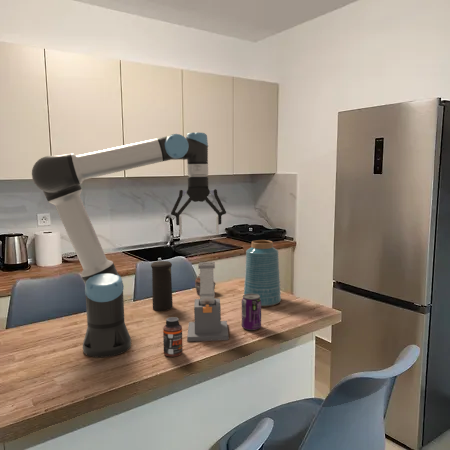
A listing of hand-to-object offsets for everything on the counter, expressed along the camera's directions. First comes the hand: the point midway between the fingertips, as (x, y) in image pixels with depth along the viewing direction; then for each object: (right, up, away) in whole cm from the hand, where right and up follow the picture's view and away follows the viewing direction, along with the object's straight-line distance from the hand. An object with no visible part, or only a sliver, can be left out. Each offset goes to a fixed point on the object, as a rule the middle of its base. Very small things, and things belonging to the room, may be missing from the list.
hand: (199, 233), depth 150 cm
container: (-17, -32, +21) cm, 42 cm away
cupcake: (0, -29, +40) cm, 50 cm away
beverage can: (+19, -35, -2) cm, 40 cm away
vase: (+26, -31, +28) cm, 49 cm away
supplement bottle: (-7, -38, -22) cm, 44 cm away
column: (+4, -33, -6) cm, 34 cm away
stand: (+4, -35, -6) cm, 36 cm away
